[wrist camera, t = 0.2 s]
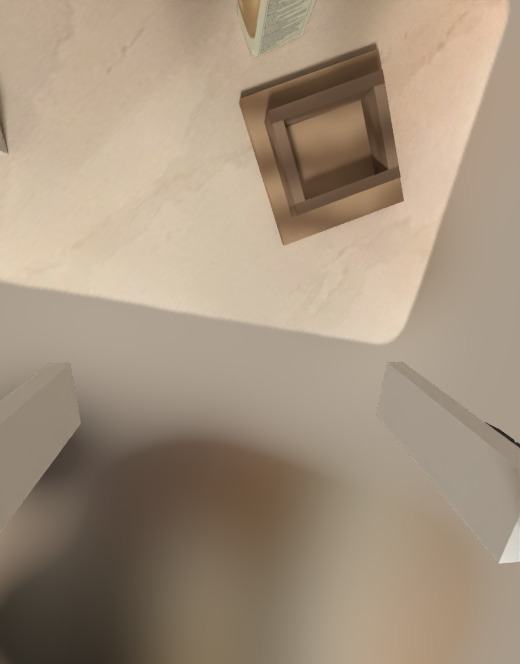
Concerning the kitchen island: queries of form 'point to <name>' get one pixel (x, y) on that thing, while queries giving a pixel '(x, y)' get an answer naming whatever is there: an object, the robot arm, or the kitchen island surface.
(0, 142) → the grey rectangular block
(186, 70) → the kitchen island surface
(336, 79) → the walnut box stand
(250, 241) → the kitchen island surface
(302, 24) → the skincare box
